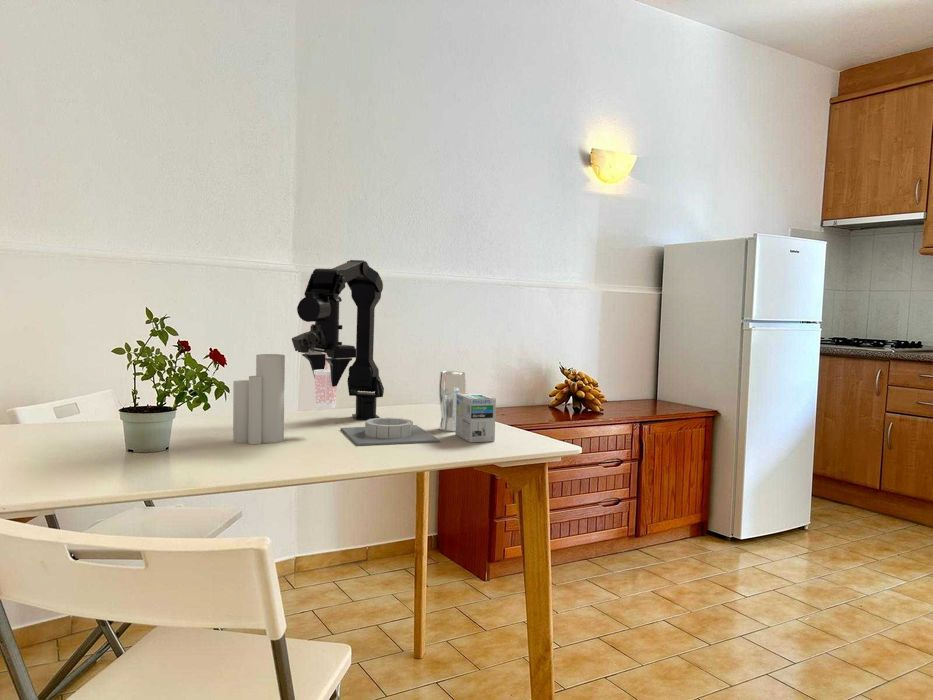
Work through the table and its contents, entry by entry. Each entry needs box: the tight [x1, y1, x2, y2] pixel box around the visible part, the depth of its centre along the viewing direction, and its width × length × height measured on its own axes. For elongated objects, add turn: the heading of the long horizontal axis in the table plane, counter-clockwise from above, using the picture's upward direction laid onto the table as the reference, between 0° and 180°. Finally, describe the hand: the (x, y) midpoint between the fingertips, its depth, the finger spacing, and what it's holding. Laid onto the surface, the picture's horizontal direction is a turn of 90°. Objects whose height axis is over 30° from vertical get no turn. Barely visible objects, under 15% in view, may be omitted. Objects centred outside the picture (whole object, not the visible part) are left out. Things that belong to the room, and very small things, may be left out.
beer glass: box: [438, 370, 466, 432], centre depth 192 cm, size 7×7×15 cm
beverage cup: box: [312, 353, 338, 410], centre depth 179 cm, size 6×6×14 cm
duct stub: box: [340, 417, 441, 447], centre depth 181 cm, size 20×20×4 cm
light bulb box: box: [455, 392, 497, 443], centre depth 182 cm, size 11×7×11 cm, turn 22°
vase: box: [232, 353, 286, 445], centre depth 170 cm, size 11×7×20 cm, turn 116°
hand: (326, 384), depth 179 cm, fingers closed on beverage cup, 8 cm apart
